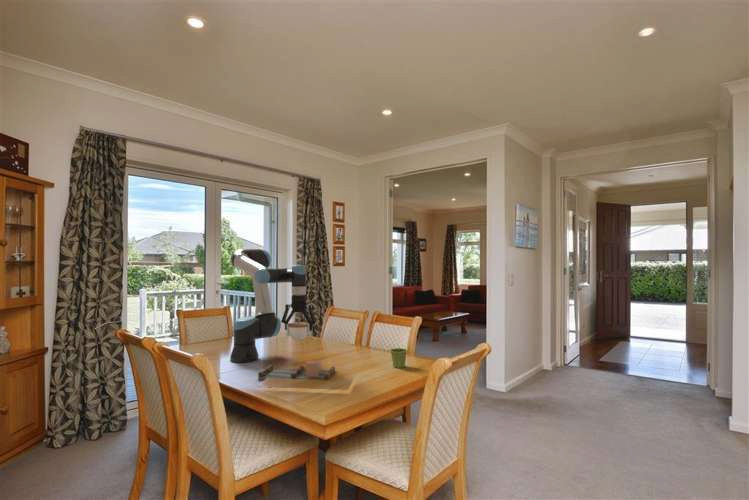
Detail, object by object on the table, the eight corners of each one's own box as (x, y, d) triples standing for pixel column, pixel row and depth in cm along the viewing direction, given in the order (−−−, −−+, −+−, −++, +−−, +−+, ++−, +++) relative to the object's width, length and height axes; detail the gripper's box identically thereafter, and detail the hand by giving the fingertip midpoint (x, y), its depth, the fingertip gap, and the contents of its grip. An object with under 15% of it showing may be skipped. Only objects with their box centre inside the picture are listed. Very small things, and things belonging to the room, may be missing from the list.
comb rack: (270, 371, 206) (270, 364, 206) (334, 373, 202) (334, 366, 202) (258, 380, 191) (258, 372, 191) (327, 383, 187) (327, 375, 188)
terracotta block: (309, 372, 199) (309, 360, 199) (321, 372, 199) (321, 360, 199) (305, 376, 193) (305, 363, 193) (318, 376, 193) (318, 363, 193)
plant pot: (392, 369, 211) (392, 352, 211) (388, 364, 220) (388, 348, 220) (409, 368, 213) (409, 351, 213) (404, 364, 222) (404, 347, 222)
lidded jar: (304, 341, 209) (304, 322, 209) (284, 340, 211) (284, 321, 212) (311, 337, 220) (312, 319, 220) (293, 336, 222) (293, 318, 222)
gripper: (275, 294, 214) (274, 337, 213) (318, 295, 211) (318, 338, 210) (280, 293, 221) (279, 334, 221) (322, 294, 218) (322, 335, 218)
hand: (298, 336), depth 215 cm, fingers closed on lidded jar, 11 cm apart
